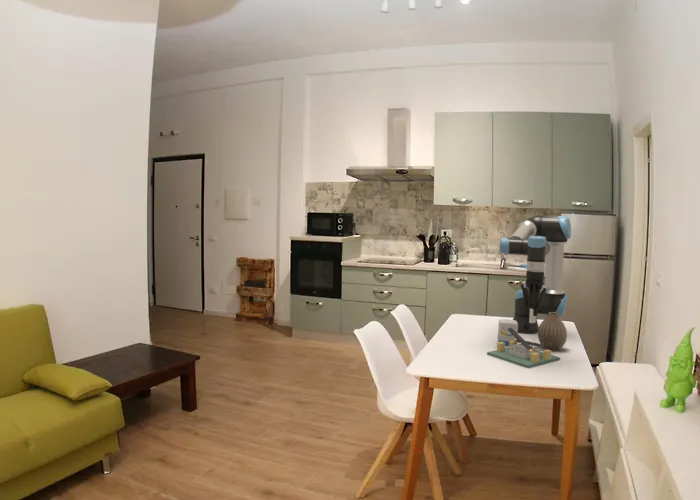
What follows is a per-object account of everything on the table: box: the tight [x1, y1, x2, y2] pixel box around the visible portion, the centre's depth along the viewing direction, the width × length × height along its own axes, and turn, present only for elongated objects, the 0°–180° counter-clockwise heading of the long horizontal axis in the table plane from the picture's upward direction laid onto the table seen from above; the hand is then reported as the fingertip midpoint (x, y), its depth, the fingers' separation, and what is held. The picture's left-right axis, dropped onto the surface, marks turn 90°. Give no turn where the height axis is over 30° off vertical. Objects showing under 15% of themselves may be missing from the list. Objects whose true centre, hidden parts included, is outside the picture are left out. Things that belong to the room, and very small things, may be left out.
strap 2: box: [513, 339, 544, 348], centre depth 222 cm, size 3×14×1 cm, turn 34°
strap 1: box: [508, 328, 535, 352], centre depth 216 cm, size 3×14×1 cm
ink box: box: [497, 318, 519, 347], centre depth 241 cm, size 8×8×12 cm
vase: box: [537, 312, 568, 351], centre depth 235 cm, size 13×13×18 cm
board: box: [486, 341, 561, 369], centre depth 219 cm, size 23×22×5 cm
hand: (532, 322), depth 217 cm, fingers closed
